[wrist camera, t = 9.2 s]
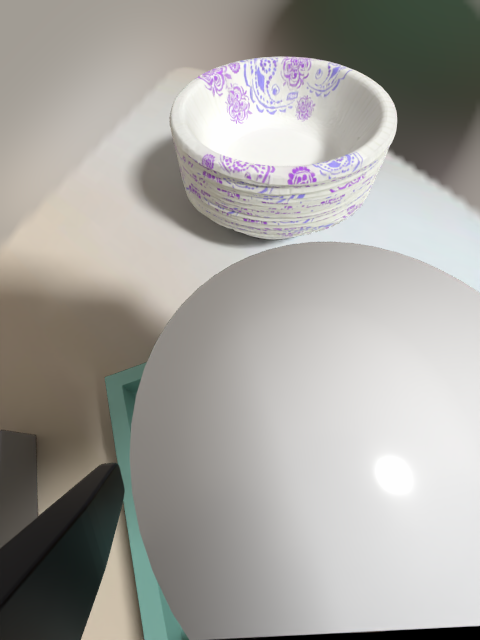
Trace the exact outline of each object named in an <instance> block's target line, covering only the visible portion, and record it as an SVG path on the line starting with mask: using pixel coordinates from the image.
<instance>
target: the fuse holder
mask: <svg viewBox="0 0 480 640" xmlns="http://www.w3.org/2000/svg"><path fill="white" fill-rule="evenodd" d="M37 517H38V504H37V461H36V435H32V434H25V433H19V432H12V431H6V430H0V548H1V547H2V546H3V545H4V544H6V543H7V542H8V541H9V540H10V539H12V538H13V537H14V536H15V535H16V534H18V533H19V532H20V531H21V530H22V529H24V528H25V527H26V526H27V525H28V524H30V523H31V522H32V521H33V520H34V519H36V518H37Z"/></svg>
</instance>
